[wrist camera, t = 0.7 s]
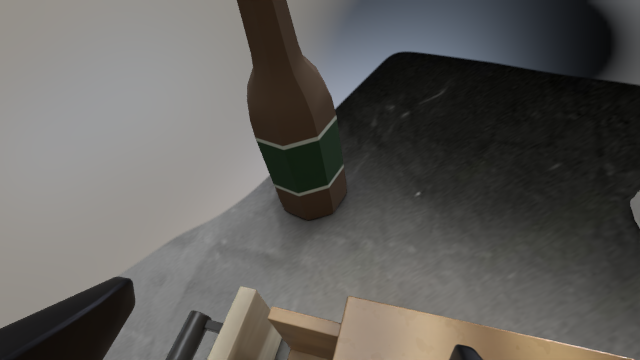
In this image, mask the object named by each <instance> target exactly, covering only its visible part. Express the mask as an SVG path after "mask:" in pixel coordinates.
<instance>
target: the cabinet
mask: <svg viewBox="0 0 640 360" xmlns="http://www.w3.org/2000/svg"><path fill="white" fill-rule="evenodd" d="M457 344H460V345H465V346H470V347H472V348H474V349H475V350H476V351H477V353H478V354H479V355H480V356H481V358H482V359H483V360H635V359H632V358H627V357H623V356H618V355H614V354H609V353H605V352H600V351H596V350H591V349H587V348H582V347H578V346H573V345H569V344H564V343H560V342H555V341H551V340H546V339H542V338H537V337H533V336H528V335H524V334H519V333H514V332H510V331H505V330H501V329H496V328H492V327H487V326H483V325H478V324H474V323H469V322H465V321H460V320H456V319H451V318H447V317H442V316H438V315H433V314H429V313H424V312H420V311H415V310H411V309H406V308H402V307H397V306H393V305H388V304H383V303H379V302H374V301H370V300H365V299H361V298H356V297H352V296H348V297H347V302H346V306H345V310H344V314H343V318H342V322H341V327H340V331H339V335H338V339H337V343H336V348H335V352H334V356H333V360H449V359H450V356H451V354H452V351H453V349H454V347H455V345H457Z"/></svg>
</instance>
